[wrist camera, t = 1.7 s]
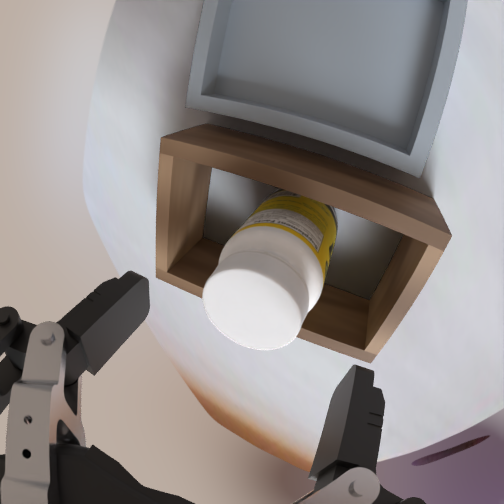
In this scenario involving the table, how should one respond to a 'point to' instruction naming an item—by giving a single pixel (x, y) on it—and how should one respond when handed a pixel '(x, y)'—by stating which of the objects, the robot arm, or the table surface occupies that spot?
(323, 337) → the caddy
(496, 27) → the table surface
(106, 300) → the robot arm
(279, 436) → the table surface
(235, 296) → the supplement bottle
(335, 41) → the tray
